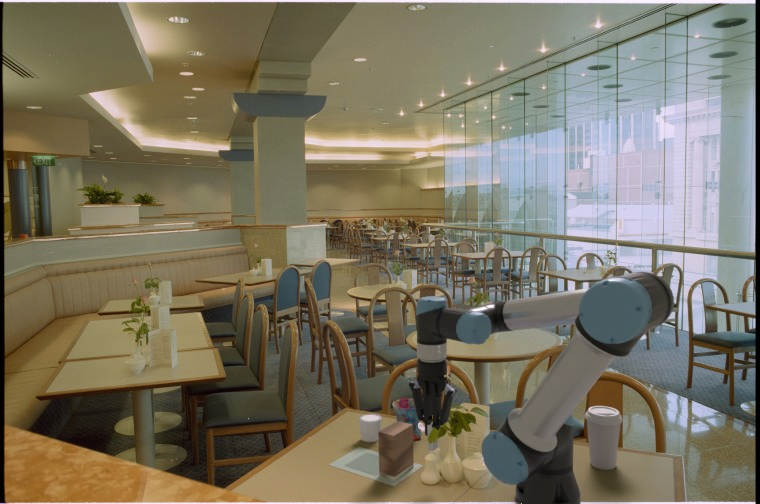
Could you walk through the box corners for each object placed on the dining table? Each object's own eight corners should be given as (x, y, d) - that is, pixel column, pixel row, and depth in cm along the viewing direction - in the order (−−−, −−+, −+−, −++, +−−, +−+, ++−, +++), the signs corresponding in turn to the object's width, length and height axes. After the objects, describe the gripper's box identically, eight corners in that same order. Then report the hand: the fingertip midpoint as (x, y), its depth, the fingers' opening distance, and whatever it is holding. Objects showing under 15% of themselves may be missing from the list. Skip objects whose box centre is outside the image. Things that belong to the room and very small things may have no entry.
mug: (403, 445, 175) (402, 411, 174) (387, 435, 183) (386, 402, 182) (436, 437, 181) (435, 403, 180) (419, 427, 189) (418, 395, 188)
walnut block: (413, 467, 160) (412, 424, 159) (394, 480, 152) (394, 435, 151) (398, 462, 163) (397, 420, 162) (379, 475, 155) (378, 431, 154)
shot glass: (356, 437, 182) (355, 415, 181) (376, 433, 184) (375, 412, 184) (365, 446, 175) (364, 423, 175) (385, 441, 178) (385, 419, 178)
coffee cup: (581, 468, 158) (582, 414, 157) (587, 454, 167) (587, 402, 165) (619, 475, 154) (620, 419, 152) (623, 460, 162) (624, 407, 161)
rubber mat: (423, 467, 161) (423, 465, 161) (394, 488, 150) (394, 485, 150) (359, 448, 174) (359, 446, 174) (328, 466, 162) (328, 464, 162)
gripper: (462, 358, 147) (462, 449, 149) (417, 351, 155) (419, 438, 157) (447, 365, 141) (448, 460, 143) (402, 358, 149) (403, 448, 151)
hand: (432, 448), depth 150 cm, fingers closed
